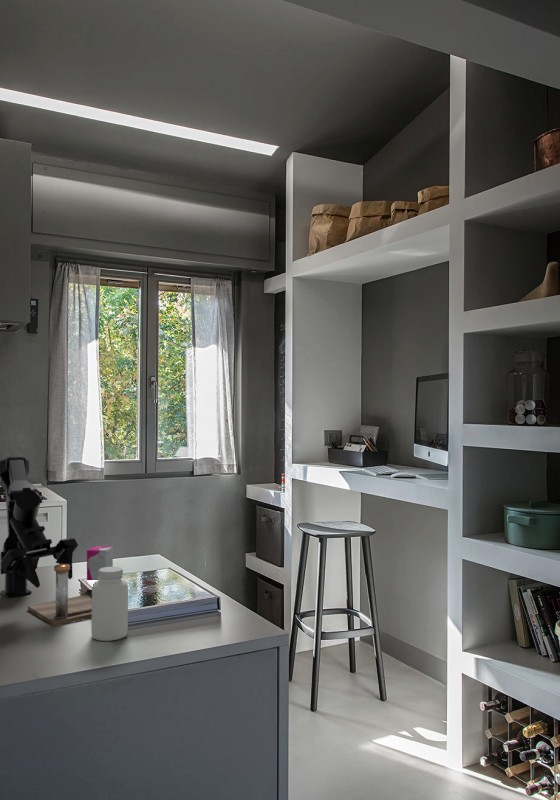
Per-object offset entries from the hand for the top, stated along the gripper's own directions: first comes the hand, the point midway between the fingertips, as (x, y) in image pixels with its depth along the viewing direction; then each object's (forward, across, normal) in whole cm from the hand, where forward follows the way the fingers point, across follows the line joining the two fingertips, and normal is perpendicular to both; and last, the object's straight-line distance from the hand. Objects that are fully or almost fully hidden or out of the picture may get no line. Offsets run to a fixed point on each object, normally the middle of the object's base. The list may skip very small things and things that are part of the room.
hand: (55, 582), depth 160 cm
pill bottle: (+20, 0, +8) cm, 22 cm away
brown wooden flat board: (+5, -7, -8) cm, 11 cm away
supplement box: (-3, -25, -16) cm, 30 cm away
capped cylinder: (+8, 0, -5) cm, 9 cm away
